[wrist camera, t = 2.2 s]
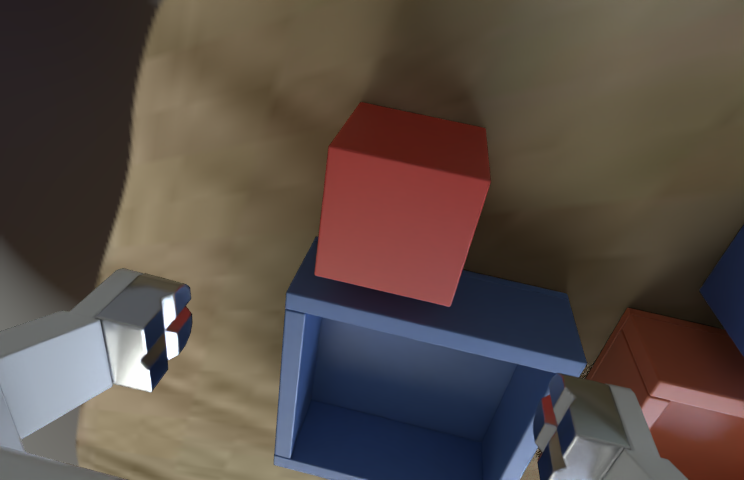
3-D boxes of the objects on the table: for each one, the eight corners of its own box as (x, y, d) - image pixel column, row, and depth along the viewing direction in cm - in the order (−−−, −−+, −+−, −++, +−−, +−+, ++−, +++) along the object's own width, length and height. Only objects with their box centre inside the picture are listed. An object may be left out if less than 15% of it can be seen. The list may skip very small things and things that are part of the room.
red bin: (627, 306, 19) (659, 380, 16) (901, 369, 18) (994, 460, 15) (537, 459, 25) (547, 537, 22) (744, 511, 24) (787, 599, 21)
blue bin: (315, 235, 20) (285, 292, 17) (567, 293, 19) (587, 363, 16) (298, 399, 26) (273, 465, 22) (491, 448, 25) (495, 523, 22)
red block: (359, 101, 17) (328, 145, 13) (486, 127, 16) (491, 180, 13) (344, 211, 19) (313, 275, 15) (454, 236, 19) (450, 307, 15)
